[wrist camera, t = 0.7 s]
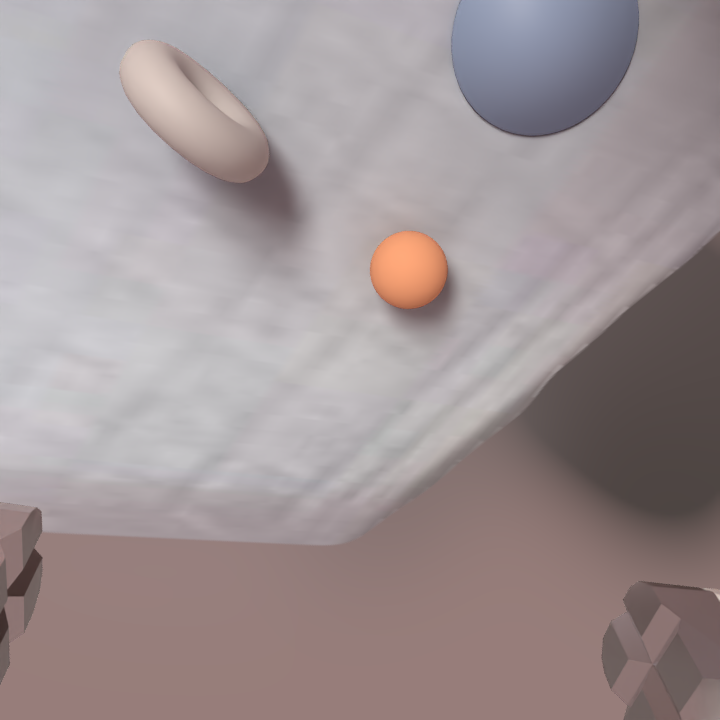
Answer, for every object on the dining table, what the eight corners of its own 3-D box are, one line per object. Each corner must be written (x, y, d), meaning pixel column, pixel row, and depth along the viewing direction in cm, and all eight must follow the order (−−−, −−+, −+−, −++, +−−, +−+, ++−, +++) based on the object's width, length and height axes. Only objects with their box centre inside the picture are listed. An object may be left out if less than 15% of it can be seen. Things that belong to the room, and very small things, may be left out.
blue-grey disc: (526, -116, 40) (526, -117, 40) (676, 0, 43) (678, 0, 43) (416, 75, 45) (416, 76, 44) (559, 166, 48) (559, 167, 48)
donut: (285, 134, 46) (276, 171, 37) (252, 171, 47) (236, 216, 39) (164, 19, 42) (122, 32, 34) (131, 62, 44) (83, 85, 35)
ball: (392, 207, 49) (399, 232, 44) (455, 242, 50) (469, 270, 46) (354, 269, 51) (357, 300, 46) (415, 301, 53) (424, 334, 48)
